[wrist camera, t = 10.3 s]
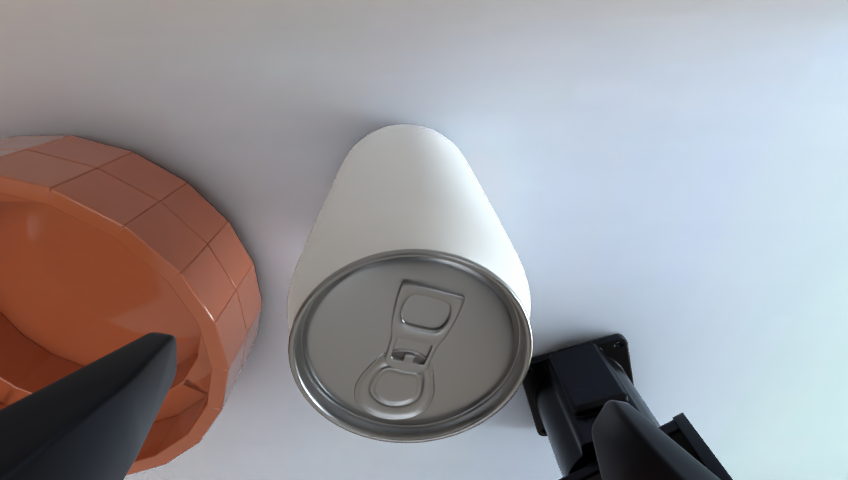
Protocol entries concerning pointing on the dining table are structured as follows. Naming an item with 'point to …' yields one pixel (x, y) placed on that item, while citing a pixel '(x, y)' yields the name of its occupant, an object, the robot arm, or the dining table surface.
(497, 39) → the dining table surface
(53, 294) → the bowl
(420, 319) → the can
